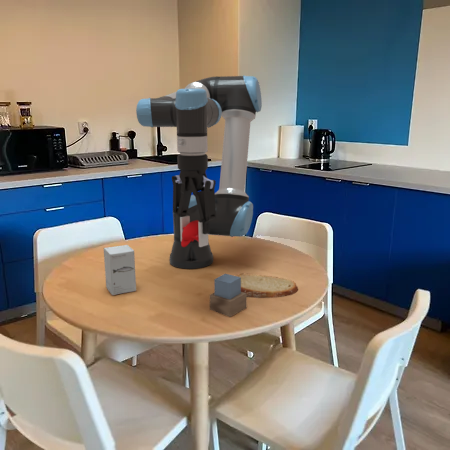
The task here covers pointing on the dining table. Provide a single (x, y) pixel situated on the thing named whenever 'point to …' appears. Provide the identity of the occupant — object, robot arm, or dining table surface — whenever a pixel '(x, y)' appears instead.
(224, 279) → the tower top
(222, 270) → the dining table surface
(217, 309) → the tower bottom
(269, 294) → the slice of bread
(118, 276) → the supplement box
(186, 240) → the cap
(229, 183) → the robot arm
